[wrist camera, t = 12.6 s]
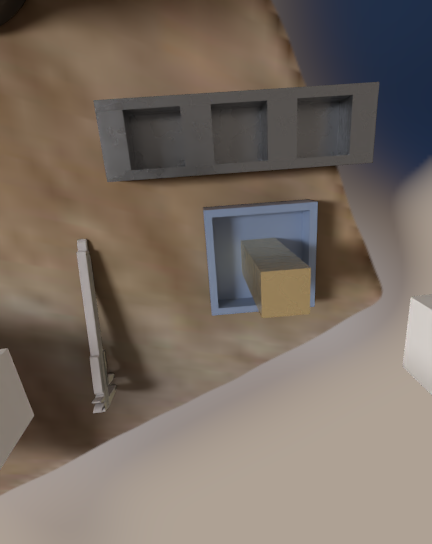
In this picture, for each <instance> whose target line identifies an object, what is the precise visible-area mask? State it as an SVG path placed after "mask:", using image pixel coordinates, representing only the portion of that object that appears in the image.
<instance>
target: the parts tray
mask: <svg viewBox="0 0 432 544" xmlns="http://www.w3.org/2000/svg"><path fill="white" fill-rule="evenodd" d="M203 212H204V224H205V236H206V249H207V261H208V274H209V286H210V298H211V310H212V315H223V314H234V313H246V312H257V311H258V308H257V306H256V304H255V302H254V299H253V297H252V295H251V292H250V290H249V288H248V286H247V283H246V281H245V279H244V277H243V274H242V262H241V240H252V239H264V238H276V239H277V240H278V241H279V242H281V243H282V244H283V245H284V246H285V247H287V248H288V249H289V250H290V251H291V252H293V253H294V254H295V255H296V256H297V257H299V258H300V259H301V260H302V261H303V262H305V263H306V264H307V265H308V266H309V267H311V285H310V307H314V306H315V275H316V244H317V212H318V202H317V201H313V200H309V199H307V200H294V201H281V202H267V203H254V204H241V205H228V206H215V207H203Z"/></svg>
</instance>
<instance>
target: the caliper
mask: <svg viewBox="0 0 432 544" xmlns="http://www.w3.org/2000/svg"><path fill="white" fill-rule="evenodd" d="M77 246H78V252H77V260H78V267H79V274H80V282H81V289H82V296H83V304H84V311H85V318H86V325H87V333H88V340H89V347H90V354H91V356H90V366H91V373H92V381H93V389H94V394H96V396H95V399H94V400H93V401H92V403H96V404H95V407H94V410H93V413H100V412H106V410H107V409H108V407H109V406H110V404H111V402H112V399H113V397H114V394H115V391H116V385H110V386H108V385H109V384H110V383H111V382H112V380H113V378H114V377H115V376H114V373H113V374H107V360H106V351H105V349H104V350H103V347H102V339H101V332H100V324H99V317H98V309H97V301H96V294H95V286H94V278H93V271H92V263H91V258H90V253H89V251H88V245H87V239H80V240H77Z"/></svg>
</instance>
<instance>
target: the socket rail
mask: <svg viewBox="0 0 432 544" xmlns="http://www.w3.org/2000/svg"><path fill="white" fill-rule="evenodd" d="M378 91H379V82H373V83H356V84H342V85H326V86H310V87H294V88H279V89H263V90H248V91H232V92H216V93H201V94H185V95H170V96H154V97H139V98H123V99H108V100H94V106H95V112H96V118H97V124H98V130H99V136H100V141H101V147H102V153H103V159H104V165H105V171H106V177H107V182H114V181H128V180H142V179H156V178H169V177H183V176H197V175H210V174H224V173H238V172H252V171H265V170H279V169H293V168H307V167H320V166H334V165H348V164H361V163H373V151H374V139H375V127H376V114H377V103H378Z"/></svg>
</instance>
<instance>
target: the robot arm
mask: <svg viewBox="0 0 432 544" xmlns="http://www.w3.org/2000/svg"><path fill="white" fill-rule="evenodd" d="M24 2H25V0H0V25H2V24H4V23H5V22H7V21H8V20H9V19H10V18H12V17H13V16H14V15H15V14H16V13H17V11H18V10H19V9H20V8H21V6H22V5H23V3H24ZM403 367H404V368H405V369H406V370H407V371H408V372H409V373H410V374H411V375H412V376H413V377H414V378H415V379H416V380H417V381H418V382H419V383H420V384H421V385H422V386H423V387H424V388H425V389H426V390H427V391H428V392H429V393H430V394H431V395H432V294H430V295H422V296H414V297H411V300H410V309H409V317H408V326H407V334H406V342H405V350H404V359H403ZM33 417H34V413H33V411H32V408H31V406H30V403H29V401H28V398H27V396H26V393H25V391H24V388H23V385H22V383H21V380H20V378H19V375H18V373H17V370H16V368H15V365H14V363H13V360H12V358H11V355H10V352H9V350H8V348H5V349H0V469H1V468H2V466H3V464H4V463H5V461H6V460H7V458H8V457H9V455H10V453H11V452H12V450H13V449H14V447H15V445H16V444H17V442H18V441H19V439H20V437H21V436H22V434H23V433H24V431H25V430H26V428H27V426H28V425H29V423H30V422H31V420H32V418H33Z"/></svg>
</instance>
